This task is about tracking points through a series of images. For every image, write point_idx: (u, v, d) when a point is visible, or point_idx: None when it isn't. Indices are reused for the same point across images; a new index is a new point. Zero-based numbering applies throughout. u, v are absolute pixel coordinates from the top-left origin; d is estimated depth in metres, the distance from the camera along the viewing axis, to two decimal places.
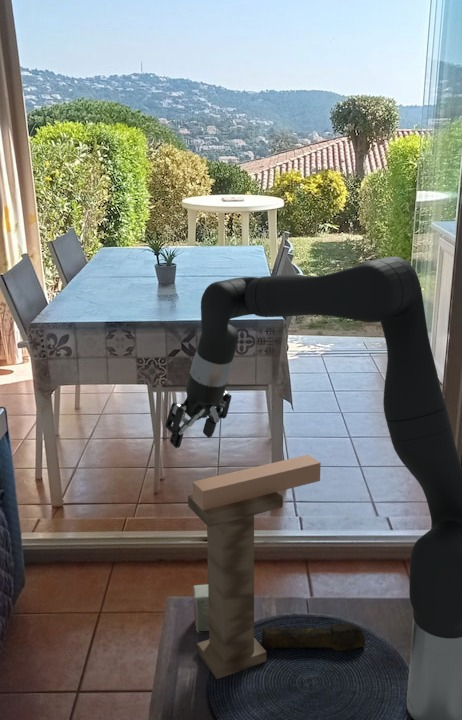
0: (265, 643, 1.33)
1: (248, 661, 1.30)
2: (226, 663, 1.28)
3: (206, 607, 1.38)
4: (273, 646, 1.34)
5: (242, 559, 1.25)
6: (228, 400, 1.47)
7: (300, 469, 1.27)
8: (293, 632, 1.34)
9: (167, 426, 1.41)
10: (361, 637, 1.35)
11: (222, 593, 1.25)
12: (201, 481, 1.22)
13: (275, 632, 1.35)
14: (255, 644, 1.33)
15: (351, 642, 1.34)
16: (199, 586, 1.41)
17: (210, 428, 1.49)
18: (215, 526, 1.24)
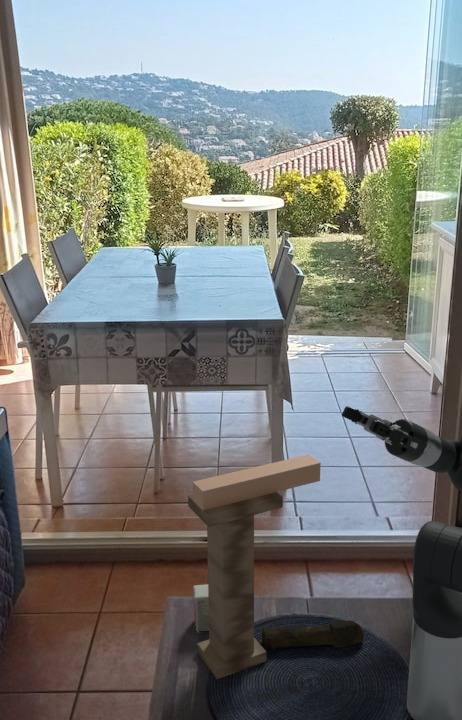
0: (266, 644, 1.33)
1: (248, 661, 1.30)
2: (226, 663, 1.28)
3: (206, 607, 1.38)
4: (274, 646, 1.34)
5: (242, 559, 1.25)
6: (414, 438, 1.37)
7: (300, 469, 1.27)
8: (293, 632, 1.34)
9: None
10: (360, 633, 1.36)
11: (222, 593, 1.25)
12: (201, 481, 1.22)
13: (275, 632, 1.35)
14: (255, 644, 1.33)
15: (351, 638, 1.35)
16: (199, 586, 1.41)
17: None
18: (215, 526, 1.24)
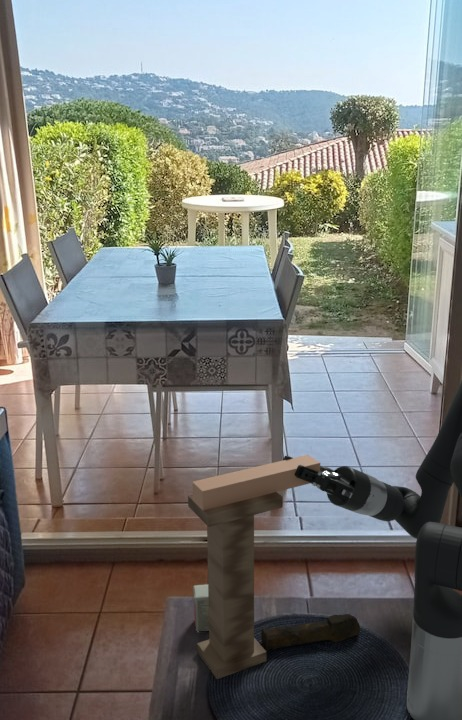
0: (268, 645, 1.33)
1: (248, 661, 1.30)
2: (226, 663, 1.28)
3: (206, 607, 1.38)
4: (275, 647, 1.34)
5: (242, 559, 1.25)
6: (348, 486, 1.28)
7: None
8: (293, 630, 1.35)
9: None
10: (356, 625, 1.38)
11: (222, 593, 1.25)
12: (201, 481, 1.22)
13: (275, 632, 1.34)
14: (255, 644, 1.33)
15: (348, 631, 1.37)
16: (199, 586, 1.41)
17: None
18: (215, 526, 1.24)
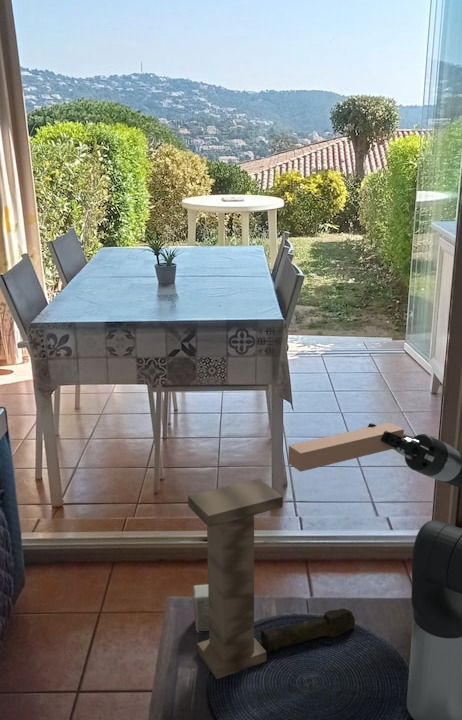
0: (270, 646, 1.33)
1: (248, 661, 1.30)
2: (226, 663, 1.28)
3: (206, 607, 1.38)
4: (276, 647, 1.34)
5: (242, 559, 1.25)
6: (430, 451, 1.37)
7: None
8: (292, 629, 1.35)
9: None
10: (352, 619, 1.40)
11: (222, 593, 1.25)
12: (296, 445, 1.31)
13: (275, 633, 1.34)
14: (255, 644, 1.33)
15: (345, 625, 1.39)
16: (199, 586, 1.41)
17: None
18: (215, 526, 1.24)
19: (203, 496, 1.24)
